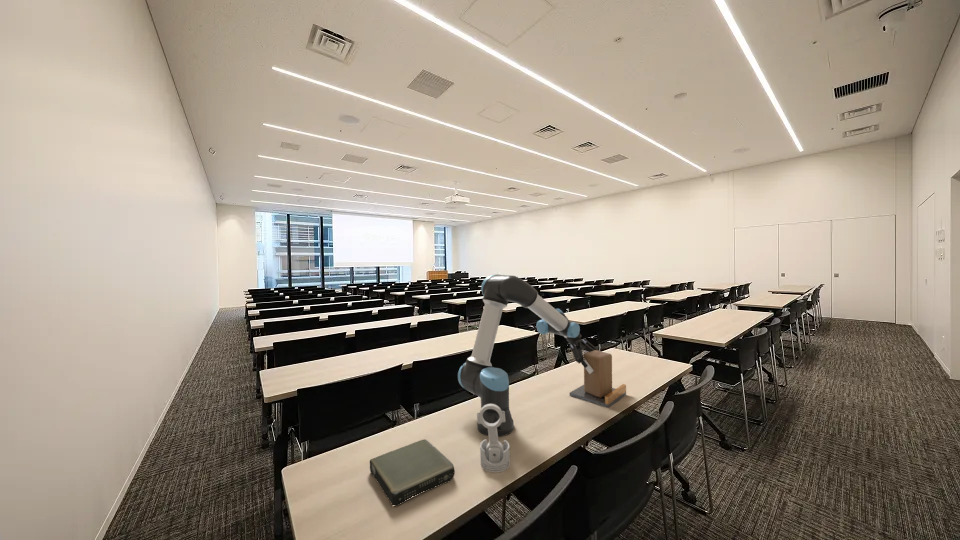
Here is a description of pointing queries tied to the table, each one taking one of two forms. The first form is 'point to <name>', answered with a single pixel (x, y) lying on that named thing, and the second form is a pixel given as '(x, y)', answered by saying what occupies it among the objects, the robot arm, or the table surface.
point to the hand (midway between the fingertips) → (598, 369)
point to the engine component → (493, 443)
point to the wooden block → (598, 373)
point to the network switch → (411, 470)
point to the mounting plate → (602, 401)
